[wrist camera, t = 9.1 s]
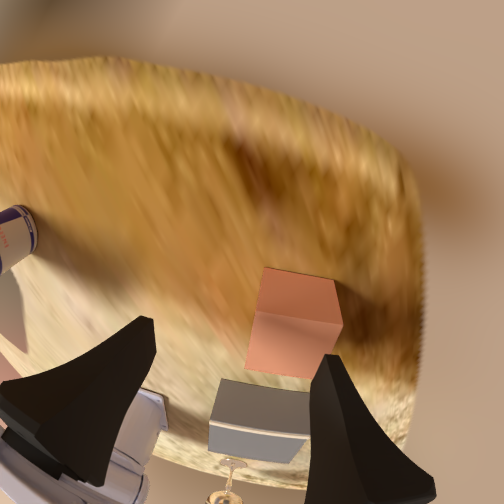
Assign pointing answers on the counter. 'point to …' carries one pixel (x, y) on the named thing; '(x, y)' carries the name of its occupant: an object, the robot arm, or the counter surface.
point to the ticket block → (258, 422)
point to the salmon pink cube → (293, 324)
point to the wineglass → (227, 486)
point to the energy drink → (16, 236)
